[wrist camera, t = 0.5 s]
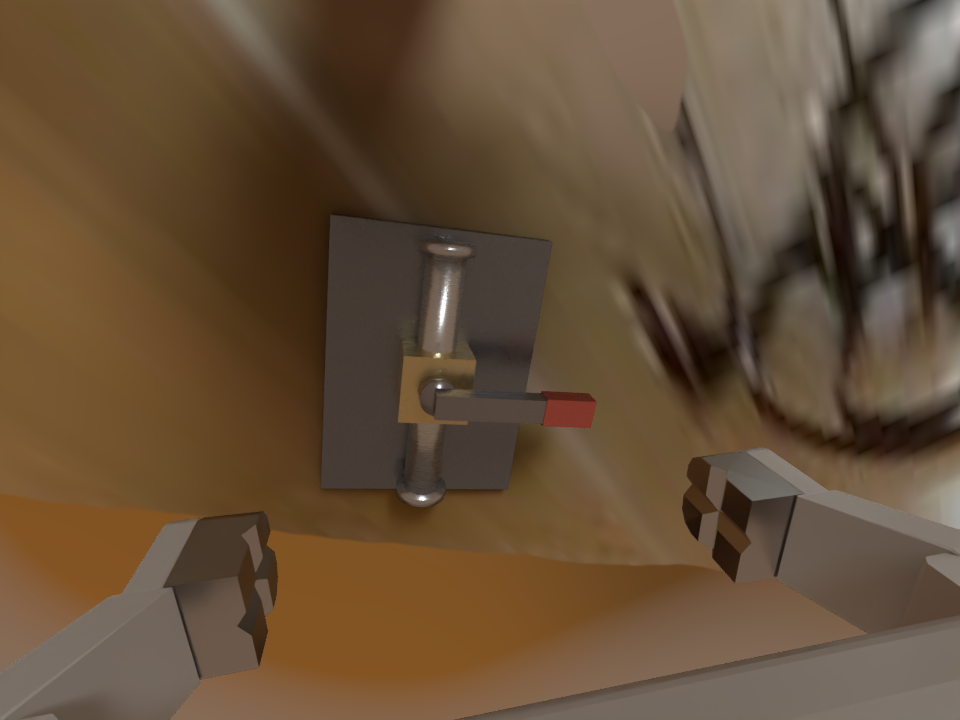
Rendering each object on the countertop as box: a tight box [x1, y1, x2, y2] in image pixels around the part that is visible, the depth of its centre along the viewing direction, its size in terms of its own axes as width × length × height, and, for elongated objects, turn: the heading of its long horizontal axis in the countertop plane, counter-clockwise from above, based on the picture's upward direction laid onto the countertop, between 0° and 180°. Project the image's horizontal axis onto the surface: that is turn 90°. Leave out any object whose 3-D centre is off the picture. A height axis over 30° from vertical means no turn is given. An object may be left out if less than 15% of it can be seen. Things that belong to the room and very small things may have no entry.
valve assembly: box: [321, 214, 552, 507], centre depth 52 cm, size 30×22×7 cm
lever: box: [419, 376, 597, 428], centre depth 48 cm, size 17×4×4 cm, turn 82°
